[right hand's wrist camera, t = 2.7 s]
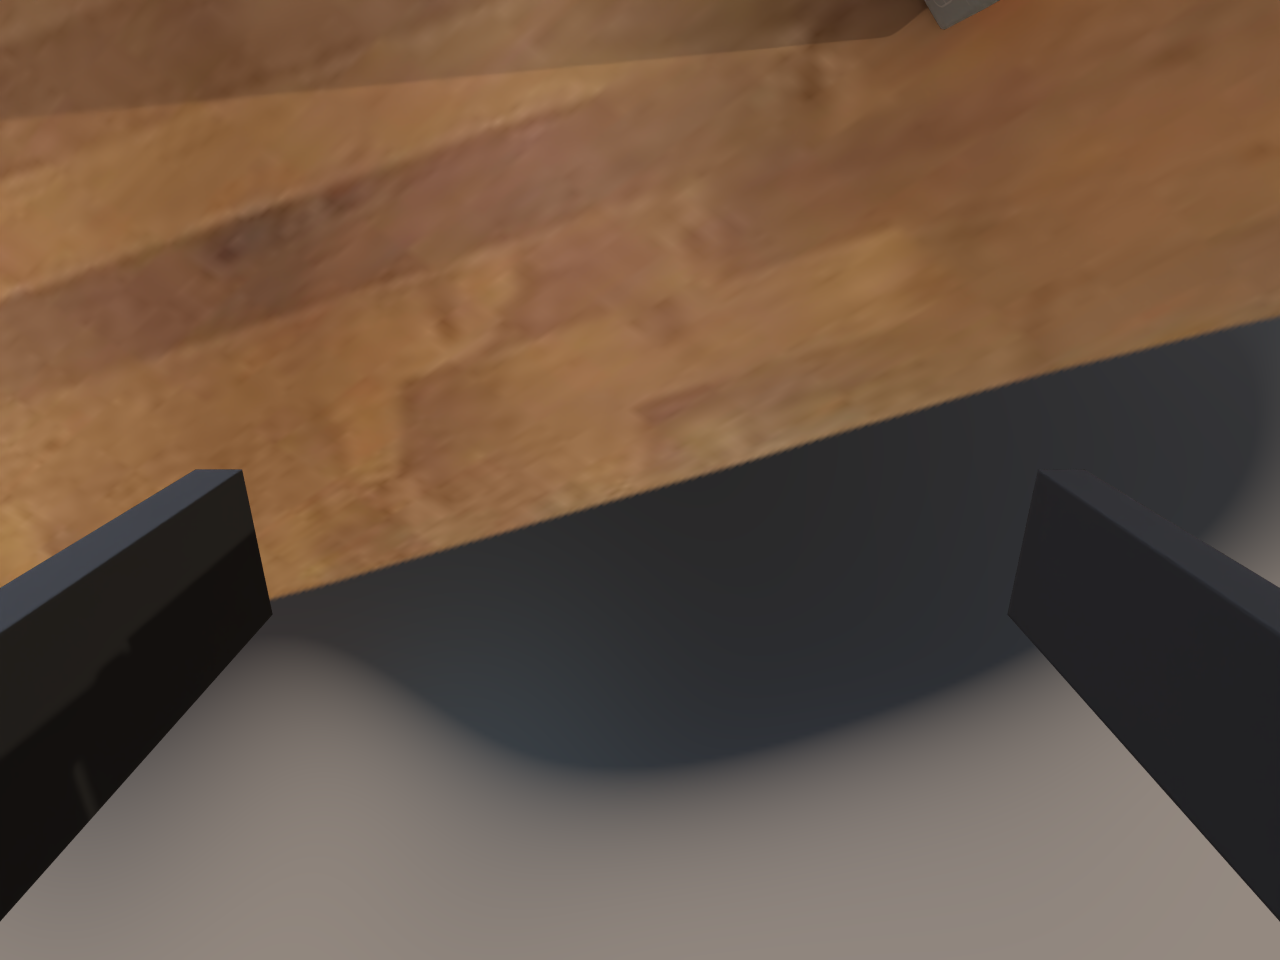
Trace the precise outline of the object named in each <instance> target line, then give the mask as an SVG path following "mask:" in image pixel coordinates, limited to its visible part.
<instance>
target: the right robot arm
mask: <svg viewBox="0 0 1280 960" xmlns="http://www.w3.org/2000/svg"><path fill="white" fill-rule="evenodd" d="M271 615H272V610H271V605H270V600H269V595H268V591H267V586H266V581H265V576H264V572H263V567H262V562H261V557H260V553H259V548H258V543H257V538H256V534H255V529H254V524H253V519H252V515H251V510H250V505H249V500H248V495H247V491H246V486H245V481H244V476H243V472H242V470H194V471H192V472H191V473H189V474H187V475H186V476H184V477H182V478H181V479H179V480H178V481H176V482H174V483H173V484H171V485H169V486H168V487H166V488H164V489H163V490H161V491H159V492H158V493H156V494H154V495H153V496H151V497H150V498H148V499H146V500H145V501H143V502H141V503H140V504H138V505H136V506H135V507H133V508H131V509H130V510H128V511H126V512H125V513H123V514H121V515H120V516H118V517H117V518H115V519H113V520H112V521H110V522H108V523H107V524H105V525H103V526H102V527H100V528H98V529H97V530H95V531H93V532H92V533H90V534H88V535H87V536H85V537H84V538H82V539H80V540H79V541H77V542H75V543H74V544H72V545H70V546H69V547H67V548H65V549H64V550H62V551H60V552H59V553H57V554H55V555H54V556H52V557H51V558H49V559H47V560H46V561H44V562H42V563H41V564H39V565H37V566H36V567H34V568H32V569H31V570H29V571H27V572H26V573H24V574H22V575H21V576H19V577H18V578H16V579H14V580H13V581H11V582H9V583H8V584H6V585H4V586H3V587H1V588H0V921H1V920H2V919H3V918H4V916H5V915H6V914H7V913H8V912H9V911H10V910H11V909H12V907H13V906H14V905H15V904H16V903H17V902H18V901H19V900H20V898H21V897H22V896H23V895H24V894H25V893H26V892H27V890H28V889H29V888H30V887H31V886H32V885H33V884H34V883H35V882H36V880H37V879H38V878H39V877H40V876H41V875H42V874H43V873H44V871H45V870H46V869H47V868H48V867H49V866H50V865H51V863H52V862H53V861H54V860H55V859H56V858H57V857H58V856H59V854H60V853H61V852H62V851H63V850H64V849H65V848H66V847H67V845H68V844H69V843H70V842H71V841H72V840H73V839H74V838H75V836H76V835H77V834H78V833H79V832H80V831H81V830H82V829H83V827H84V826H85V825H86V824H87V823H88V822H89V821H90V819H91V818H92V817H93V816H94V815H95V814H96V813H97V812H98V811H99V809H100V808H101V807H102V806H103V805H104V804H105V803H106V802H107V800H108V799H109V798H110V797H111V796H112V795H113V794H114V792H115V791H116V790H117V789H118V788H119V787H120V786H121V785H122V783H123V782H124V781H125V780H126V779H127V778H128V777H129V776H130V774H131V773H132V772H133V771H134V770H135V769H136V768H137V767H138V765H139V764H140V763H141V762H142V761H143V760H144V759H145V758H146V756H147V755H148V754H149V753H150V752H151V751H152V750H153V748H154V747H155V746H156V745H157V744H158V743H159V742H160V741H161V740H162V738H163V737H164V736H165V735H166V734H167V733H168V732H169V730H170V729H171V728H172V727H173V726H174V725H175V724H176V723H177V721H178V720H179V719H180V718H181V717H182V716H183V715H184V714H185V712H186V711H187V710H188V709H189V708H190V707H191V706H192V705H193V703H194V702H195V701H196V700H197V699H198V698H199V697H200V696H201V694H202V693H203V692H204V691H205V690H206V689H207V688H208V686H209V685H210V684H211V683H212V682H213V681H214V680H215V679H216V678H217V676H218V675H219V674H220V673H221V672H222V671H223V670H224V668H225V667H226V666H227V665H228V664H229V663H230V662H231V661H232V659H233V658H234V657H235V656H236V655H237V654H238V653H239V652H240V650H241V649H242V648H243V647H244V646H245V645H246V644H247V643H248V641H249V640H250V639H251V638H252V637H253V636H254V635H255V634H256V632H257V631H258V630H259V629H260V628H261V627H262V626H263V625H264V623H265V622H266V621H267V620H268V619H269V618H270V617H271ZM1008 615H1009V617H1010V618H1011V619H1012V620H1013V621H1014V622H1015V623H1016V625H1017V626H1018V627H1019V628H1020V629H1021V630H1022V631H1023V632H1024V634H1025V635H1026V636H1027V637H1028V638H1029V639H1030V640H1031V641H1032V643H1033V644H1034V645H1035V646H1036V647H1037V648H1038V649H1039V650H1040V652H1041V653H1042V654H1043V655H1044V656H1045V657H1046V658H1047V659H1048V661H1049V662H1050V663H1051V664H1052V665H1053V666H1054V667H1055V668H1056V670H1057V671H1058V672H1059V673H1060V674H1061V675H1062V676H1063V678H1064V679H1065V680H1066V681H1067V682H1068V683H1069V684H1070V685H1071V687H1072V688H1073V689H1074V690H1075V691H1076V692H1077V693H1078V694H1079V696H1080V697H1081V698H1082V699H1083V700H1084V701H1085V702H1086V703H1087V705H1088V706H1089V707H1090V708H1091V709H1092V710H1093V711H1094V712H1095V714H1096V715H1097V716H1098V717H1099V718H1100V719H1101V720H1102V721H1103V723H1104V724H1105V725H1106V726H1107V727H1108V728H1109V729H1110V730H1111V732H1112V733H1113V734H1114V735H1115V736H1116V737H1117V738H1118V740H1119V741H1120V742H1121V743H1122V744H1123V745H1124V746H1125V747H1126V749H1127V750H1128V751H1129V752H1130V753H1131V754H1132V755H1133V756H1134V758H1135V759H1136V760H1137V761H1138V762H1139V763H1140V764H1141V765H1142V767H1143V768H1144V769H1145V770H1146V771H1147V772H1148V773H1149V774H1150V776H1151V777H1152V778H1153V779H1154V780H1155V781H1156V782H1157V783H1158V785H1159V786H1160V787H1161V788H1162V789H1163V790H1164V791H1165V792H1166V794H1167V795H1168V796H1169V797H1170V798H1171V799H1172V800H1173V802H1174V803H1175V804H1176V805H1177V806H1178V807H1179V808H1180V809H1181V810H1182V812H1183V813H1184V814H1185V815H1186V816H1187V817H1188V818H1189V820H1190V821H1191V822H1192V823H1193V824H1194V825H1195V826H1196V827H1197V829H1198V830H1199V831H1200V832H1201V833H1202V834H1203V835H1204V836H1205V838H1206V839H1207V840H1208V841H1209V842H1210V843H1211V844H1212V845H1213V847H1214V848H1215V849H1216V850H1217V851H1218V852H1219V853H1220V854H1221V856H1222V857H1223V858H1224V859H1225V860H1226V861H1227V862H1228V864H1229V865H1230V866H1231V867H1232V868H1233V869H1234V870H1235V871H1236V872H1237V874H1238V875H1239V876H1240V877H1241V878H1242V879H1243V880H1244V882H1245V883H1246V884H1247V885H1248V886H1249V887H1250V888H1251V889H1252V891H1253V892H1254V893H1255V894H1256V895H1257V896H1258V897H1259V898H1260V900H1261V901H1262V902H1263V903H1264V904H1265V905H1266V906H1267V907H1268V909H1269V910H1270V911H1271V912H1272V913H1273V914H1274V915H1275V916H1276V918H1277V919H1278V920H1279V921H1280V588H1279V587H1277V586H1276V585H1274V584H1272V583H1271V582H1269V581H1267V580H1266V579H1264V578H1262V577H1261V576H1259V575H1258V574H1256V573H1254V572H1253V571H1251V570H1249V569H1248V568H1246V567H1244V566H1243V565H1241V564H1239V563H1238V562H1236V561H1234V560H1233V559H1231V558H1229V557H1228V556H1226V555H1224V554H1223V553H1221V552H1220V551H1218V550H1216V549H1215V548H1213V547H1211V546H1210V545H1208V544H1206V543H1205V542H1203V541H1201V540H1200V539H1198V538H1196V537H1195V536H1193V535H1192V534H1190V533H1188V532H1187V531H1185V530H1183V529H1182V528H1180V527H1178V526H1177V525H1175V524H1173V523H1172V522H1170V521H1168V520H1167V519H1165V518H1163V517H1162V516H1160V515H1159V514H1157V513H1155V512H1154V511H1152V510H1150V509H1149V508H1147V507H1145V506H1144V505H1142V504H1140V503H1139V502H1137V501H1135V500H1134V499H1132V498H1130V497H1129V496H1127V495H1126V494H1124V493H1122V492H1121V491H1119V490H1117V489H1116V488H1114V487H1112V486H1111V485H1109V484H1107V483H1106V482H1104V481H1102V480H1101V479H1099V478H1098V477H1096V476H1094V475H1093V474H1091V473H1089V472H1088V471H1086V470H1038V472H1037V476H1036V481H1035V486H1034V491H1033V495H1032V500H1031V505H1030V510H1029V515H1028V519H1027V524H1026V529H1025V534H1024V538H1023V543H1022V548H1021V553H1020V557H1019V562H1018V567H1017V572H1016V576H1015V581H1014V586H1013V591H1012V595H1011V600H1010V605H1009V610H1008Z"/></svg>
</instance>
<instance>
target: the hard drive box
mask: <svg viewBox="0 0 1280 960" xmlns="http://www.w3.org/2000/svg"><path fill="white" fill-rule="evenodd" d="M924 1H925V3H926V4H927V6H928V8H929V10H930V11H931V13H932V15H933V16H934V18H935V20H936V22H937V23H938V25H939V26H940V28H941V29H947V28H949V27H951V26H952V25H954V24H956V23H958V22H960V21H962V20H964V19H966V18H968V17H970V16H972V15H974V14H975V13H977V12H979V11H981V10H983V9H985V8H987V7H989V6H990V5H992V4H994V3H996V2H997V1H999V0H924Z"/></svg>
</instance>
